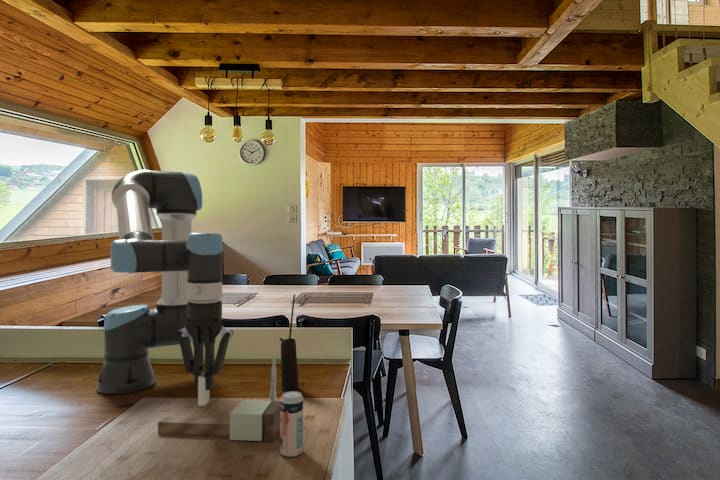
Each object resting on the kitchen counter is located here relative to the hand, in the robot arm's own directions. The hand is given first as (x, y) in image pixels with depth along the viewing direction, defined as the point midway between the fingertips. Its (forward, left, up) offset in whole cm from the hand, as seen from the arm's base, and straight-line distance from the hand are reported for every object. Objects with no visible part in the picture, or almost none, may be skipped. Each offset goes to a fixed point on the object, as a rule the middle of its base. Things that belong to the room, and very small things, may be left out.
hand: (203, 403), depth 99 cm
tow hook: (+13, +15, -7) cm, 22 cm away
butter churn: (+12, +28, -7) cm, 32 cm away
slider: (+11, -1, -6) cm, 13 cm away
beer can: (+22, -9, -7) cm, 25 cm away
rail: (+3, -1, -6) cm, 7 cm away
